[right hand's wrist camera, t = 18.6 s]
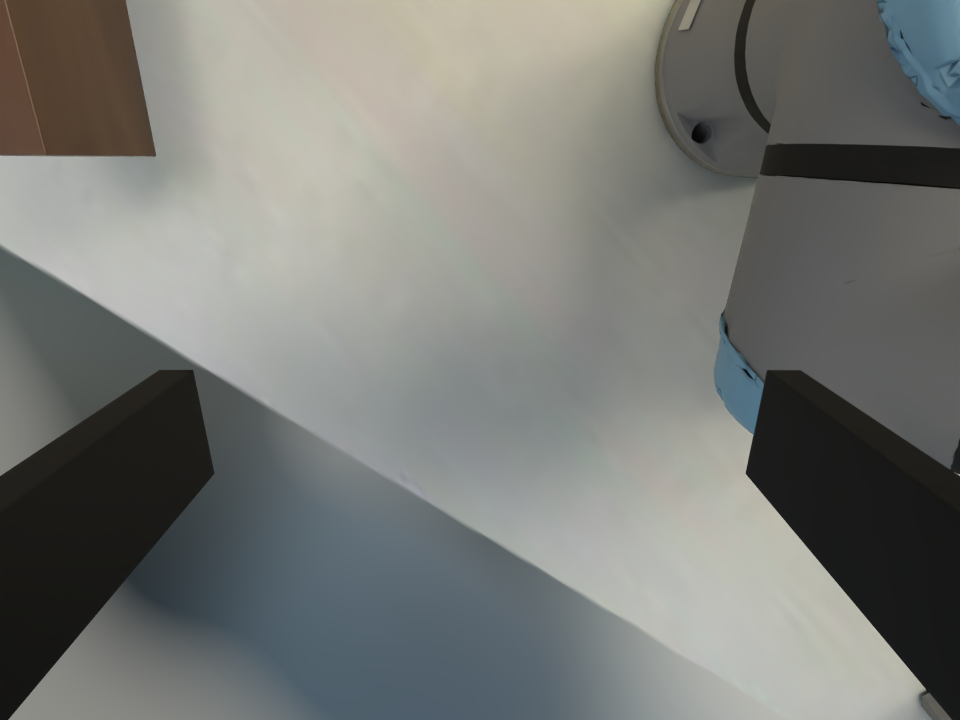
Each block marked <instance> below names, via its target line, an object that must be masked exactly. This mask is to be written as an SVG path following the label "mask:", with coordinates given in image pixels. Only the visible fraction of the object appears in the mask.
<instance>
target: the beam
mask: <svg viewBox="0 0 960 720" xmlns="http://www.w3.org/2000/svg"><path fill="white" fill-rule="evenodd" d="M0 156H156V152H155V147H154V142H153V137H152V132H151V127H150V122H149V117H148V112H147V107H146V102H145V97H144V92H143V87H142V82H141V76H140V71H139V66H138V61H137V56H136V51H135V46H134V41H133V36H132V31H131V26H130V21H129V16H128V11H127V6H126V1H125V0H0Z"/></svg>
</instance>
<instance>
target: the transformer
mask: <svg viewBox="0 0 960 720" xmlns="http://www.w3.org/2000/svg"><path fill="white" fill-rule="evenodd" d="M921 706H922V707H923V708H924V709H925V711H926V712H927V713H928V714H929V716H930V717H931V718H932V719H933V720H952V719H951V718H950V717H949V716H948V715H947V713H946V712H945V711H944V710H943V709H942V707H941V706H940V705H939V704H938V703H937V701H936V700H935V699H934V698H933V697H932V695H931V694H930V693H927V694H925V695H923V696H922V703H921Z"/></svg>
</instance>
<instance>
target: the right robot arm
mask: <svg viewBox="0 0 960 720" xmlns="http://www.w3.org/2000/svg"><path fill="white" fill-rule="evenodd" d="M655 83H656V94H657V100H658V105H659V109H660V112H661V115H662V118H663V121H664V123H665V125H666V127H667V129H668V131H669V133H670V135H671V136H672V138H673V139H674V141H675V142H676V143H677V145H678V146H679V147H680V148H681V149H682V150H683V152H684V153H685V154H687V155H688V156H689V157H690V158H691V159H692V160H694V161H695V162H697V163H698V164H700V165H702V166H703V167H705V168H707V169H709V170H712V171H714V172H717V173H721V174H724V175H729V176H736V177H750V178H758V179H757V183H756V188H755V192H754V196H753V200H752V204H751V209H750V213H749V217H748V221H747V225H746V229H745V233H744V237H743V241H742V245H741V249H740V253H739V257H738V261H737V265H736V269H735V273H734V277H733V281H732V285H731V288H730V292H729V296H728V300H727V304H726V308H725V310H724V311H723V313H722V314H721V317H720V321H719V332H720V335H721V336H720V341H719V347H718V352H717V358H716V363H715V368H714V381H715V386H716V390H717V392H718V394H719V395H720V397H721V399H722V400H723V401H724V403H725V406H726V408H727V410H728V411H729V412H730V414H731V415H732V416H733V417H734V418H735V419H736V420H737V421H738V422H739V423H740V424H741V425H742V426H743V427H744V428H746V429H747V430H748V431H749V432H750V433H752V434H753V440H752V445H751V450H750V455H749V460H748V465H747V470H746V475H747V476H748V477H749V478H750V479H751V481H752V482H753V483H754V484H755V485H756V487H757V488H758V489H759V490H760V491H761V493H762V494H763V495H764V496H765V497H766V498H767V500H768V501H769V502H770V503H771V504H772V506H773V507H774V508H775V509H776V510H777V512H778V513H779V514H780V515H781V516H782V518H783V519H784V520H785V521H786V522H787V524H788V525H789V526H790V527H791V528H792V530H793V531H794V532H795V533H796V534H797V535H798V537H799V538H800V539H801V540H802V541H803V543H804V544H805V545H806V546H807V547H808V549H809V550H810V551H811V552H812V553H813V555H814V556H815V557H816V558H817V559H818V561H819V562H820V563H821V564H822V565H823V567H824V568H825V569H826V570H827V571H828V572H829V574H830V575H831V576H832V577H833V578H834V580H835V581H836V582H837V583H838V584H839V586H840V587H841V588H842V589H843V590H844V592H845V593H846V594H847V595H848V596H849V598H850V599H851V600H852V601H853V602H854V604H855V605H856V606H857V607H858V608H859V609H860V611H861V612H862V613H863V614H864V615H865V617H866V618H867V619H868V620H869V621H870V623H871V624H872V625H873V626H874V627H875V629H876V630H877V631H878V632H879V633H880V635H881V636H882V637H883V638H884V639H885V641H886V642H887V643H888V644H889V645H890V646H891V648H892V649H893V650H894V651H895V652H896V654H897V655H898V656H899V657H900V658H901V660H902V661H903V662H904V663H905V664H906V666H907V667H908V668H909V669H910V670H911V672H912V673H913V674H914V675H915V676H916V678H917V679H918V680H919V681H920V682H921V683H922V685H923V686H924V687H925V688H926V689H927V691H928V692H929V693H930V694H931V695H932V697H933V698H934V699H935V700H936V701H937V703H938V704H939V705H940V706H941V707H942V709H943V710H944V711H945V712H946V713H947V715H948V716H949V717H950V718H951V719H952V720H960V476H959V475H957V474H956V473H958V474H960V0H677V1H676V3H675V4H674V6H673V8H672V10H671V12H670V14H669V17H668V19H667V21H666V24H665V26H664V29H663V32H662V35H661V39H660V43H659V47H658V52H657V59H656V70H655ZM781 176H787V177H781ZM796 177H802V178H796ZM810 178H815V179H810ZM825 179H828V180H825ZM839 180H843V181H839ZM853 181H857V182H853ZM867 182H870V183H867ZM882 183H885V184H882ZM896 184H899V185H896ZM910 185H912V186H910ZM924 186H926V187H924ZM938 187H939V188H938ZM954 472H955V473H954ZM213 475H214V470H213V465H212V460H211V455H210V450H209V445H208V441H207V435H206V431H205V426H204V421H203V416H202V411H201V406H200V401H199V397H198V392H197V387H196V382H195V377H194V372H193V370H159V371H157V372H156V373H154V374H153V375H151V376H150V377H148V378H147V379H145V380H144V381H142V382H141V383H139V384H138V385H136V386H135V387H133V388H132V389H130V390H129V391H127V392H126V393H124V394H123V395H121V396H120V397H118V398H117V399H115V400H114V401H112V402H111V403H109V404H108V405H106V406H105V407H103V408H102V409H100V410H99V411H97V412H96V413H94V414H93V415H91V416H90V417H88V418H87V419H85V420H84V421H82V422H81V423H79V424H78V425H76V426H75V427H73V428H72V429H70V430H69V431H67V432H66V433H64V434H63V435H61V436H60V437H58V438H57V439H55V440H54V441H52V442H51V443H49V444H48V445H46V446H45V447H43V448H42V449H40V450H39V451H37V452H36V453H34V454H33V455H31V456H30V457H28V458H27V459H25V460H24V461H22V462H21V463H19V464H18V465H16V466H15V467H13V468H12V469H10V470H9V471H7V472H6V473H4V474H3V475H1V476H0V720H8V719H9V718H10V717H11V716H12V714H13V713H14V712H15V711H16V710H17V709H18V707H19V706H20V705H21V704H22V703H23V701H24V700H25V699H26V698H27V697H28V695H29V694H30V693H31V692H32V691H33V689H34V688H35V687H36V686H37V685H38V683H39V682H40V681H41V680H42V679H43V678H44V676H45V675H46V674H47V673H48V672H49V670H50V669H51V668H52V667H53V666H54V664H55V663H56V662H57V661H58V660H59V658H60V657H61V656H62V655H63V654H64V652H65V651H66V650H67V649H68V648H69V646H70V645H71V644H72V643H73V642H74V640H75V639H76V638H77V637H78V636H79V635H80V633H81V632H82V631H83V630H84V629H85V627H86V626H87V625H88V624H89V623H90V621H91V620H92V619H93V618H94V617H95V615H96V614H97V613H98V612H99V611H100V609H101V608H102V607H103V606H104V605H105V603H106V602H107V601H108V600H109V599H110V598H111V596H112V595H113V594H114V593H115V592H116V590H117V589H118V588H119V587H120V586H121V584H122V583H123V582H124V581H125V580H126V578H127V577H128V576H129V575H130V574H131V572H132V571H133V570H134V569H135V568H136V566H137V565H138V564H139V563H140V562H141V561H142V559H143V558H144V557H145V556H146V555H147V553H148V552H149V551H150V550H151V549H152V547H153V546H154V545H155V544H156V543H157V541H158V540H159V539H160V538H161V537H162V535H163V534H164V533H165V532H166V531H167V530H168V528H169V527H170V526H171V525H172V523H173V522H174V521H175V520H176V519H177V518H178V516H179V515H180V514H181V513H182V512H183V510H184V509H185V508H186V507H187V506H188V504H189V503H190V502H191V501H192V500H193V498H194V497H195V496H196V495H197V494H198V492H199V491H200V490H201V489H202V488H203V487H204V485H205V484H206V483H207V482H208V481H209V479H210V478H211V477H212V476H213Z"/></svg>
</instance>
